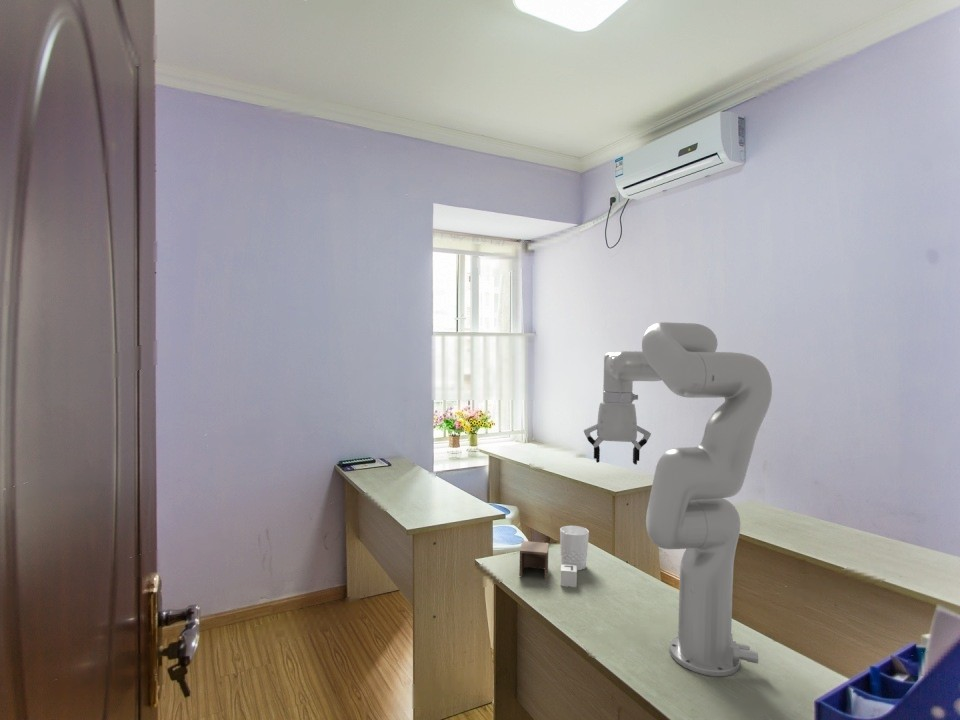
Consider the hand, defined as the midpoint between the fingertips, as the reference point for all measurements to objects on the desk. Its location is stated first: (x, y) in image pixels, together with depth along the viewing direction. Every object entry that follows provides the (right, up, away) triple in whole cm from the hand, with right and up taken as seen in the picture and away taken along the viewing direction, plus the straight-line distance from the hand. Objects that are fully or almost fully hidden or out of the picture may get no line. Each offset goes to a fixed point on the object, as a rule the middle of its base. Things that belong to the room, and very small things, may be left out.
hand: (616, 462), depth 141 cm
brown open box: (-22, -30, +1) cm, 37 cm away
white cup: (-10, -30, +6) cm, 33 cm away
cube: (-14, -30, -5) cm, 33 cm away
